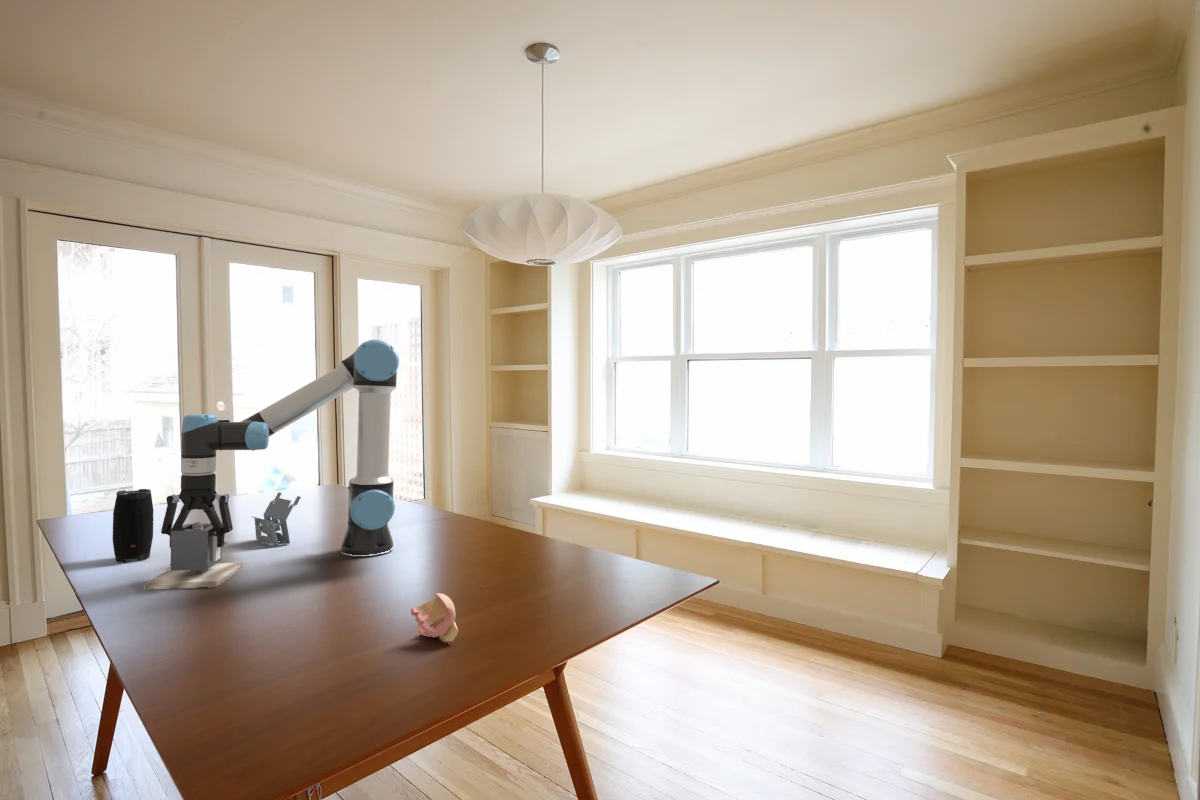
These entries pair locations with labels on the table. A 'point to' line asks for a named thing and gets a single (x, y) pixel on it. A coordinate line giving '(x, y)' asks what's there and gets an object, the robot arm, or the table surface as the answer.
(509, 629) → the table surface
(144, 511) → the portable speaker
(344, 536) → the robot arm
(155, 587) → the keeper board
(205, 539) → the gray open tub
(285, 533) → the bracket
